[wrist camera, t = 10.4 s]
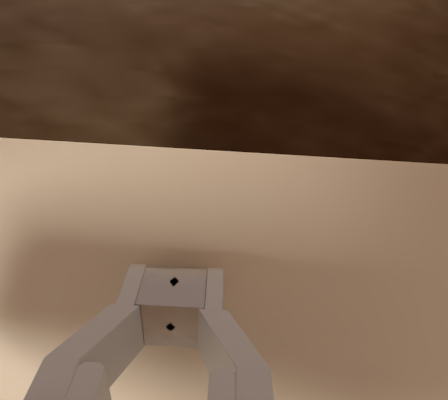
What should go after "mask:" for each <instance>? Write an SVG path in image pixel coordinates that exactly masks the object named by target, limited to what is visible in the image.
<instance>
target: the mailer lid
mask: <svg viewBox="0 0 448 400" xmlns="http://www.w3.org/2000/svg"><path fill="white" fill-rule="evenodd" d="M131 263H132V264H144V265H147V264H148V265H161V266H174V267H198V268H222V269H224V296H223V310H228V311H229V312H230V314H231V315H232V316H233V318H234V319H235V321H236V322H237V323H238V325H239V326H240V328H241V329H242V330H243V332H244V333H245V334H246V336H247V337H248V339H249V340H250V341H251V343H252V344H253V345H254V347H255V348H256V350H257V351H258V352H259V354H260V355H261V357H262V358H263V359H264V361H265V362H266V363H267V365H268V366H269V368H270V369H271V376H272V385H273V395H274V400H448V164H435V163H418V162H401V161H384V160H367V159H350V158H334V157H317V156H300V155H283V154H266V153H249V152H232V151H216V150H199V149H182V148H165V147H148V146H131V145H114V144H98V143H81V142H64V141H47V140H30V139H13V138H0V400H23V399H24V397H25V395H26V393H27V391H28V389H29V387H30V385H31V383H32V381H33V379H34V377H35V375H36V373H37V371H38V369H39V367H40V365H41V363H42V361H43V359H44V357H46V356H47V355H48V354H49V353H50V352H52V351H53V350H54V349H55V348H57V347H58V346H59V345H60V344H62V343H63V342H64V341H65V340H67V339H68V338H69V337H70V336H72V335H73V334H74V333H75V332H77V331H78V330H79V329H80V328H82V327H83V326H84V325H85V324H86V323H88V322H89V321H90V320H91V319H93V318H94V317H95V316H96V315H98V314H99V313H100V312H101V311H103V310H104V309H105V308H106V307H108V306H109V305H110V304H116V302H117V299H118V296H119V293H120V290H121V287H122V284H123V282H124V279H125V276H126V273H127V270H128V267H129V266H130V265H131ZM207 273H208V270H207ZM208 384H209V371H208V369H207V367H206V365H205V363H204V361H203V359H202V356H201V354H200V352H199V350H198V348H192V347H179V346H153V345H144V348H143V349H142V350H141V351H140V352H139V354H138V355H137V356H136V357H135V358H134V360H133V361H132V362H131V363H130V364H129V365H128V367H127V368H126V369H125V370H124V371H123V373H122V374H121V375H120V376H119V377H118V378H117V380H116V381H115V382H114V383H113V384H112V386H111V387H110V388H109V390H110V394H111V399H112V400H207V398H208Z"/></svg>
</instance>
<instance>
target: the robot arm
mask: <svg viewBox="0 0 448 400" xmlns="http://www.w3.org/2000/svg"><path fill="white" fill-rule="evenodd" d="M207 270H208V273H207ZM223 296H224V269H222V268H198V267H174V266H161V265H148V264H147V265H144V264H132V263H131V265H130V266H129V267H128V270H127V273H126V276H125V279H124V282H123V284H122V287H121V290H120V293H119V296H118V299H117V302H116V304H110V305H109V306H108V307H106V308H105V309H104V310H103V311H101V312H100V313H99V314H98V315H96V316H95V317H94V318H93V319H91V320H90V321H89V322H88V323H86V324H85V325H84V326H83V327H82V328H80V329H79V330H78V331H77V332H75V333H74V334H73V335H72V336H70V337H69V338H68V339H67V340H65V341H64V342H63V343H62V344H60V345H59V346H58V347H57V348H55V349H54V350H53V351H52V352H50V353H49V354H48V355H47V356H46V357H44V359H43V361H42V363H41V365H40V367H39V369H38V371H37V373H36V375H35V377H34V379H33V381H32V383H31V385H30V387H29V389H28V391H27V393H26V395H25V397H24V399H23V400H112V399H111V394H110V390H109V388H110V387H111V386H112V384H113V383H114V382H115V381H116V380H117V378H118V377H119V376H120V375H121V374H122V373H123V371H124V370H125V369H126V368H127V367H128V365H129V364H130V363H131V362H132V361H133V360H134V358H135V357H136V356H137V355H138V354H139V352H140V351H141V350H142V349H143V348H144V345H153V346H179V347H192V348H198V350H199V352H200V354H201V356H202V359H203V361H204V363H205V365H206V367H207V369H208V371H209V384H208V398H207V400H274V395H273V385H272V376H271V369H270V368H269V366H268V365H267V363H266V362H265V361H264V359H263V358H262V357H261V355H260V354H259V352H258V351H257V350H256V348H255V347H254V345H253V344H252V343H251V341H250V340H249V339H248V337H247V336H246V334H245V333H244V332H243V330H242V329H241V328H240V326H239V325H238V323H237V322H236V321H235V319H234V318H233V316H232V315H231V314H230V312H229V311H228V310H223Z"/></svg>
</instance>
